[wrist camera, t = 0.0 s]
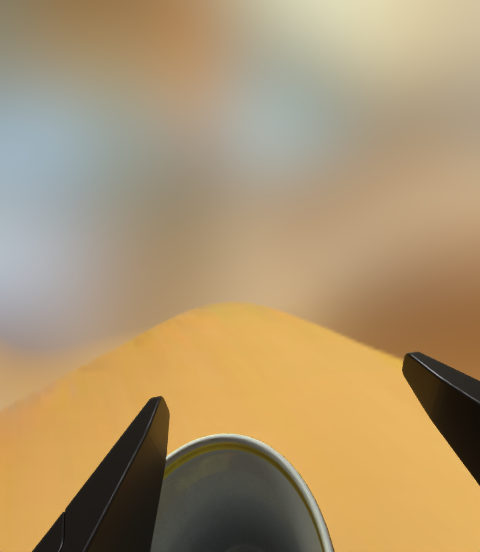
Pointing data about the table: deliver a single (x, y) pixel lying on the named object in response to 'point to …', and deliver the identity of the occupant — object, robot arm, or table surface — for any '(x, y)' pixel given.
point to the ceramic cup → (236, 501)
